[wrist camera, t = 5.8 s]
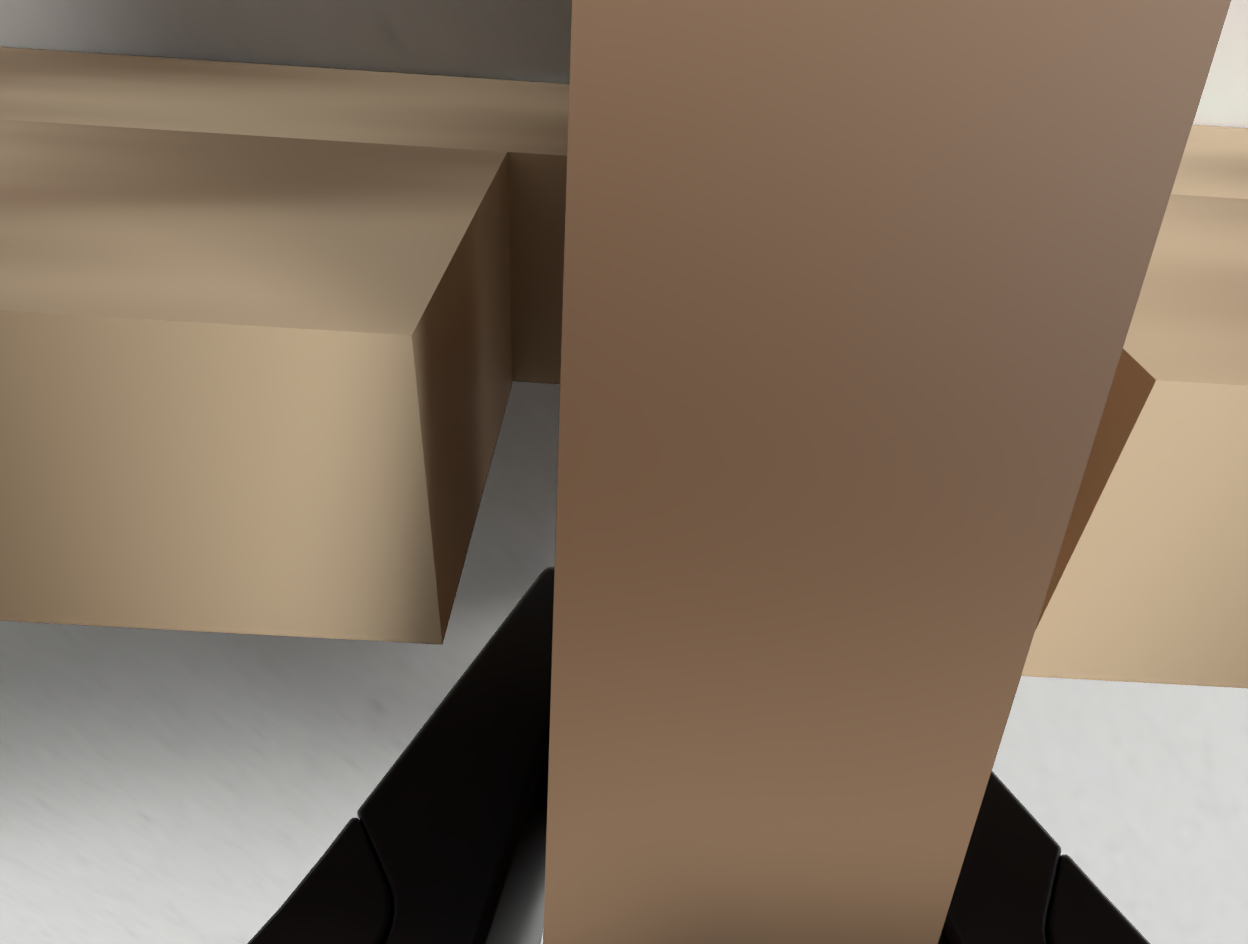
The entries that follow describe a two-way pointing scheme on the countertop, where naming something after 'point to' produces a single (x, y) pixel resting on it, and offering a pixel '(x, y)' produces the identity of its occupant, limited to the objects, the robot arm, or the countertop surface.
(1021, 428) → the walnut slot plate
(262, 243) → the oak slot board
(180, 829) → the countertop surface
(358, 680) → the countertop surface
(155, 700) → the countertop surface
